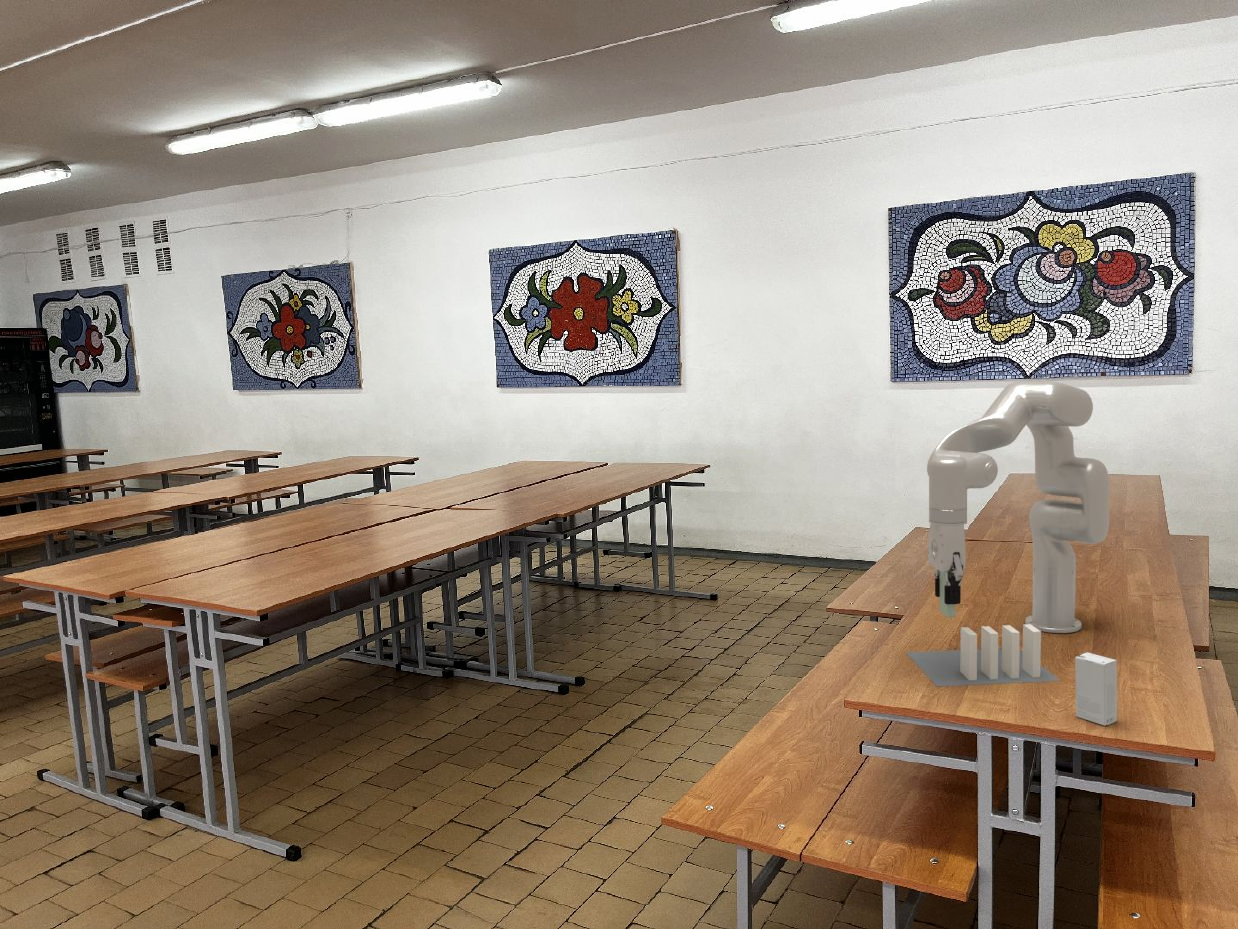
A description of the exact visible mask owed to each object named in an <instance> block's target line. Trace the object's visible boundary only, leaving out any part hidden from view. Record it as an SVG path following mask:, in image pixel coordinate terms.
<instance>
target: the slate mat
mask: <svg viewBox="0 0 1238 929" xmlns="http://www.w3.org/2000/svg"><path fill="white" fill-rule="evenodd" d="M905 654H906V655H907V656H908V657H909V658H910V659H911V660H912V662H913V663H914V664H915V665H916V666H917V667H918V668H919V669H920V670H921V671H922V672H923V673H924V675H925V676H926V677H927V678H928V679H929V681H931V682H932V683H933V684H934V685H935V686H936V688H937V687H939V688H941V687H961V686H978V685H980V686H981V685H999V684H1000V685H1002V684H1005V685H1006V684H1020V683H1021V684H1022V683H1023V684H1025V683H1044V682H1047V683H1048V682H1061V681H1062V680H1061V679H1059V678H1058V677H1057V676H1056V675H1054V674H1053V673H1052V672H1050V671H1049V670H1048V669H1046V668H1045V667H1044V666H1042V664H1040V677H1032V676H1030V675H1029V674H1028V673H1027V672H1026V671H1024V670H1023V669H1022V666H1023V649H1021V648H1019V678H1011V677H1009V676H1008V675H1007V674H1006V673H1005V672H1004V671H1002V647H998V679H989V678H988V677H987V676H986V675H985V674H984V673H983V672H982V671H981V648H977V680H968V679H967V678H966V677H965V676H964V675H963V674H962V673H961V672H960V656H961V649H955V650H954V649H953V650H933V651H931V650H930V651H912V652H911V651H910V652H905Z"/></svg>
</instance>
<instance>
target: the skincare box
mask: <svg viewBox="0 0 1238 929" xmlns="http://www.w3.org/2000/svg"><path fill="white" fill-rule="evenodd" d="M1074 661H1075V662H1074V663H1075V664H1074V665H1075V666H1074V667H1075V669H1074V670H1075V671H1074V673H1075V716H1076V717H1077V718H1079V719H1083V720H1086V721H1089V722H1092V723H1094V724H1095V723H1096V724H1099V725H1101V726H1105V727H1106V725H1107V726H1110V725H1112V724H1113V723H1117V721H1118V660H1117V659H1114V658H1109V657H1107V656H1103V655H1098V654H1094V653H1091V652H1084V653H1082V654H1080V655H1077V656H1075V657H1074Z"/></svg>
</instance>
